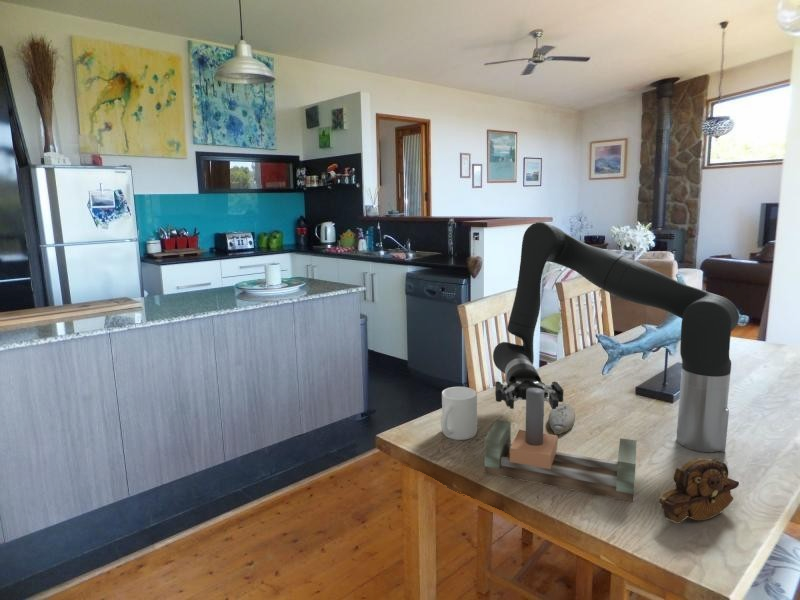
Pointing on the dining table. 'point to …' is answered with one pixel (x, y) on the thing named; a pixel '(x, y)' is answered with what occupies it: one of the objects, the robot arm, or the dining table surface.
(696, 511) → the wooden carving
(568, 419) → the decorative stone
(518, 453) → the carriage
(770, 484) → the dining table surface
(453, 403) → the mug
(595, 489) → the rail bed
